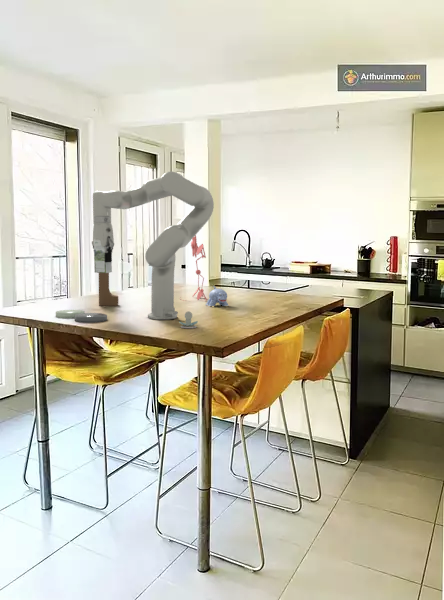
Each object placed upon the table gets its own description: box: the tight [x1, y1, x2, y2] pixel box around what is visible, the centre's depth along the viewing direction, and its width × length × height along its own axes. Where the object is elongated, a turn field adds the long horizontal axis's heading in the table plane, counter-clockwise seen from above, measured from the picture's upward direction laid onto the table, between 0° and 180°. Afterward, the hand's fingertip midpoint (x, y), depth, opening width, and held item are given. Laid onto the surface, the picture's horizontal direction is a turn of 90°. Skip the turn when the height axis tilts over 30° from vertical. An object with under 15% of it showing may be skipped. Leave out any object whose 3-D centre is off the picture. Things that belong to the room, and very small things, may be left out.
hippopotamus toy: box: [205, 285, 230, 307], centre depth 264 cm, size 11×15×10 cm
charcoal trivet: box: [74, 312, 108, 324], centre depth 219 cm, size 13×13×2 cm
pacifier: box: [178, 311, 198, 329], centre depth 207 cm, size 7×6×6 cm
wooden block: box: [98, 273, 119, 307], centre depth 258 cm, size 9×4×18 cm, turn 96°
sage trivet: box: [55, 309, 86, 319], centre depth 228 cm, size 12×12×2 cm
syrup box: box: [93, 239, 113, 274], centre depth 230 cm, size 6×6×14 cm
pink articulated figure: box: [179, 234, 208, 302], centre depth 286 cm, size 15×26×35 cm, turn 12°
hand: (103, 261), depth 230 cm, fingers closed on syrup box, 7 cm apart
